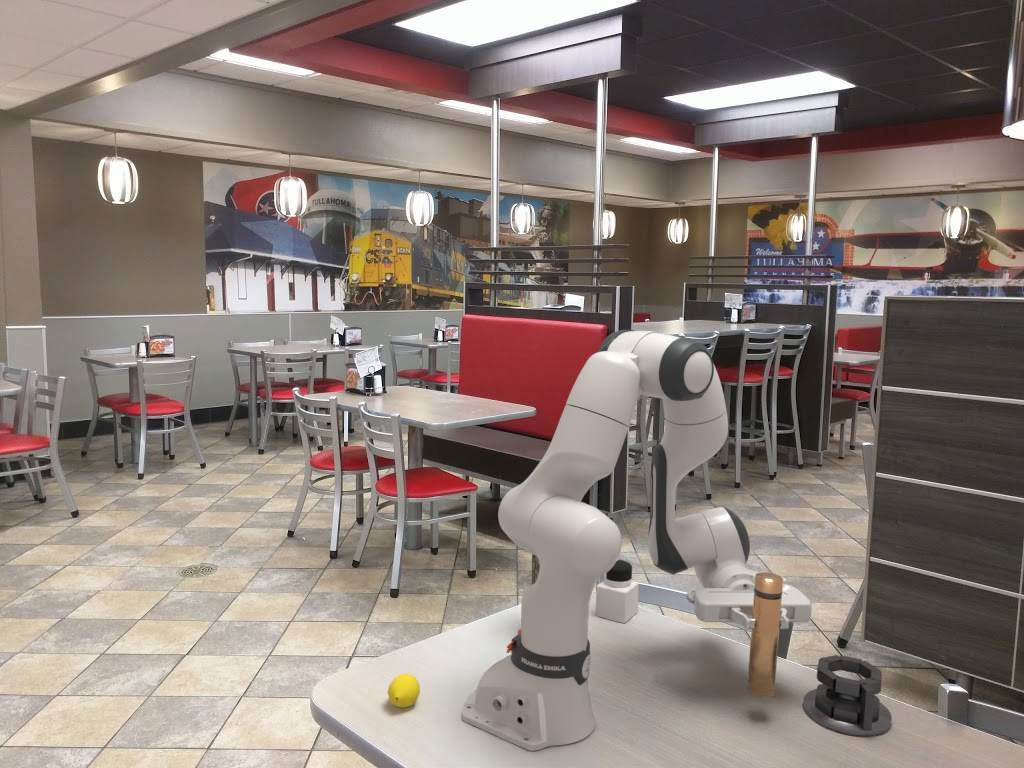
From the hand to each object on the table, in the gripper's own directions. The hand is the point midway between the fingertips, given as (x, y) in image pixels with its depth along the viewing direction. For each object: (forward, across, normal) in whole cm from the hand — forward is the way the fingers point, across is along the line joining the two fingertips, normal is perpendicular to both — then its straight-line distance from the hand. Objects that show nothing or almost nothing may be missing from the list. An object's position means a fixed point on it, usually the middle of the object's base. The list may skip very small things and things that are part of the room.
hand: (767, 624), depth 131 cm
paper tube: (-34, -32, +17) cm, 50 cm away
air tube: (-1, 0, +12) cm, 12 cm away
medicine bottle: (-43, -16, +17) cm, 49 cm away
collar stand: (-1, +16, +16) cm, 23 cm away
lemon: (-8, -60, +18) cm, 64 cm away
